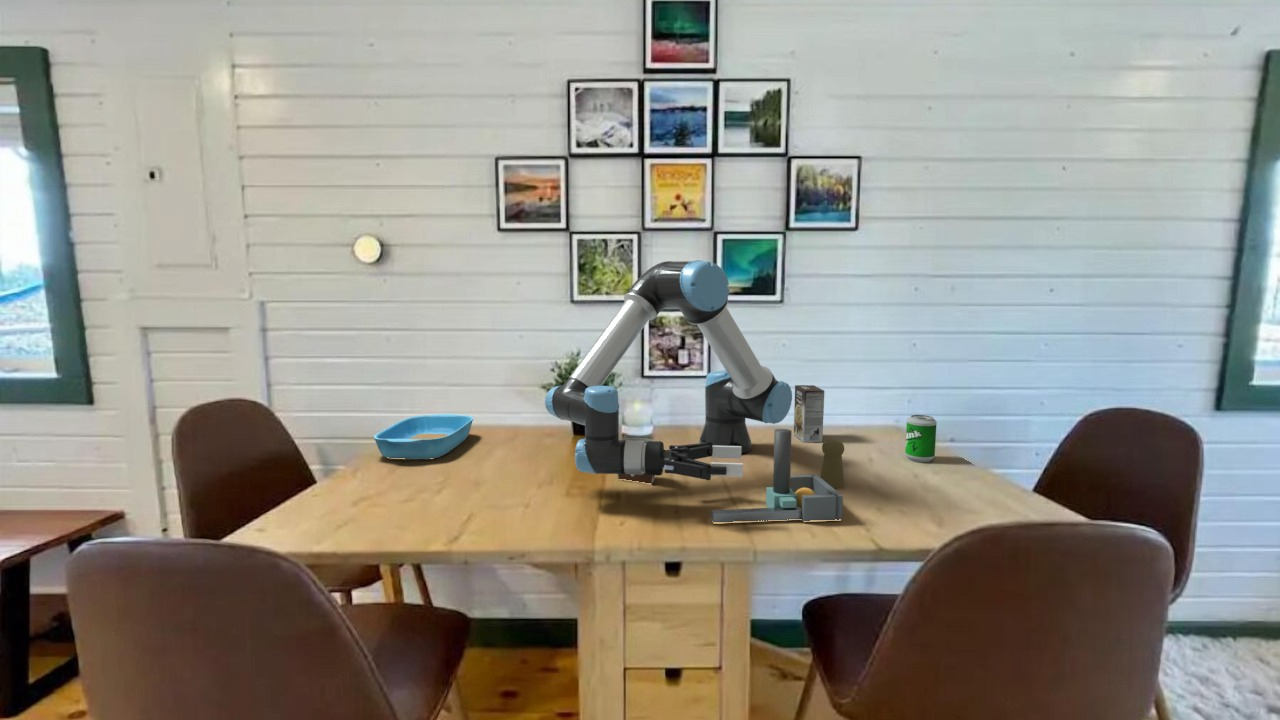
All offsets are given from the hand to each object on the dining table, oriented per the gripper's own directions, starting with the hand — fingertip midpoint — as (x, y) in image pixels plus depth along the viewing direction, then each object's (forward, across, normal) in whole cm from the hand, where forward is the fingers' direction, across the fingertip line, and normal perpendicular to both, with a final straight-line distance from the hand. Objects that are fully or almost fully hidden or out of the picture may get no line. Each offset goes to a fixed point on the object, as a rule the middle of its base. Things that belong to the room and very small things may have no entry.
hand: (742, 460), depth 149 cm
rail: (+3, +6, -11) cm, 13 cm away
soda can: (+50, -45, -11) cm, 68 cm away
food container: (-25, -19, -11) cm, 33 cm away
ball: (+13, -1, -6) cm, 15 cm away
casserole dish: (-92, -42, -12) cm, 101 cm away
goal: (+15, -2, -11) cm, 19 cm away
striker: (+9, +1, -11) cm, 14 cm away
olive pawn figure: (+22, -20, -11) cm, 32 cm away
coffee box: (+22, -65, -11) cm, 69 cm away
